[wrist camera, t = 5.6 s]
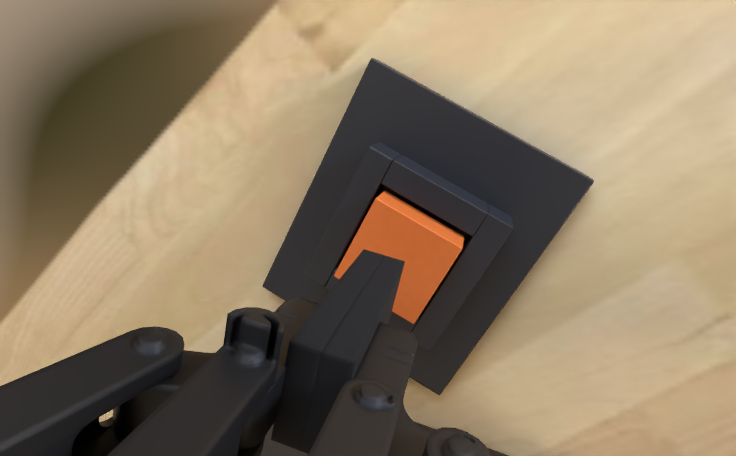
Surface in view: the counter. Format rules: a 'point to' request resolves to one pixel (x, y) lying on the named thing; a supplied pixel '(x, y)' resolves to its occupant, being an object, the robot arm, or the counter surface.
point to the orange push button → (430, 209)
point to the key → (406, 250)
